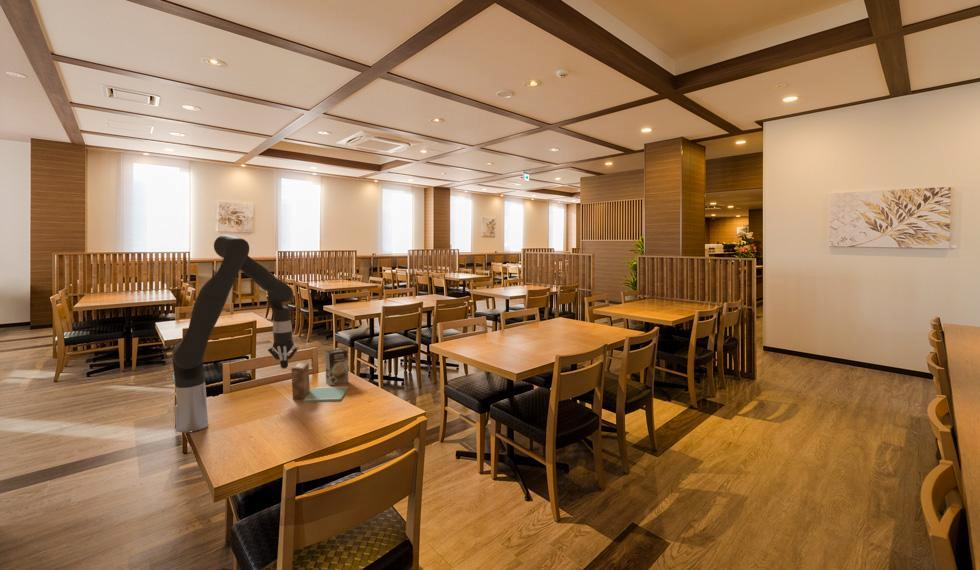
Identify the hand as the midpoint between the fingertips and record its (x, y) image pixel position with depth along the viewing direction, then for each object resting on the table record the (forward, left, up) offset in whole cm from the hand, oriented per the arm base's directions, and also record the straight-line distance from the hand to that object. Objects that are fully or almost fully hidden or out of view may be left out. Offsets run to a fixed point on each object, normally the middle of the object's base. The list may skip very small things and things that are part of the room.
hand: (284, 368), depth 195 cm
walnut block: (+7, 0, -13) cm, 15 cm away
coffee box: (+19, +17, -13) cm, 29 cm away
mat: (+18, 0, -13) cm, 22 cm away
